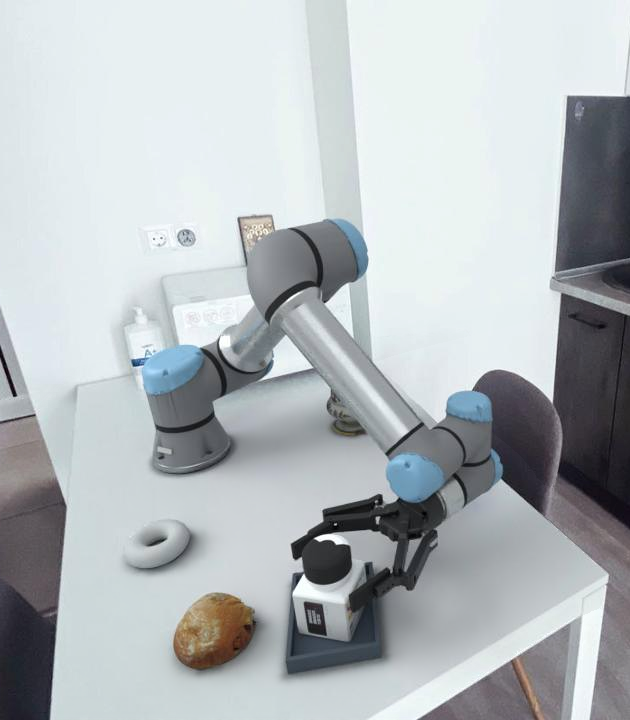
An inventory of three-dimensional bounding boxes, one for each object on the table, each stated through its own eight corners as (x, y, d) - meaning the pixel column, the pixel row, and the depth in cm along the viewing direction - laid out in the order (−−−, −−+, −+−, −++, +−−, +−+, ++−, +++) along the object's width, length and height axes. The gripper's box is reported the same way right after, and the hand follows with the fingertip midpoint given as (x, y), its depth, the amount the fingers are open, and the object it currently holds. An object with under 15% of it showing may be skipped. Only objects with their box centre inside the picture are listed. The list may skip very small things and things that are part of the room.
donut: (175, 573, 87) (201, 529, 96) (170, 557, 86) (197, 514, 95) (113, 573, 87) (145, 529, 97) (107, 557, 86) (140, 514, 95)
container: (350, 643, 75) (341, 572, 69) (297, 634, 76) (285, 563, 71) (368, 599, 82) (362, 531, 76) (320, 591, 83) (311, 523, 78)
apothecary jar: (338, 443, 122) (330, 370, 114) (322, 420, 131) (314, 351, 124) (388, 429, 127) (383, 359, 120) (369, 408, 137) (363, 341, 129)
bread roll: (210, 627, 82) (176, 594, 79) (269, 601, 81) (237, 566, 78) (187, 690, 73) (148, 655, 70) (252, 662, 72) (216, 625, 69)
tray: (294, 585, 85) (292, 573, 84) (373, 573, 87) (372, 561, 86) (287, 674, 71) (285, 661, 70) (381, 657, 73) (380, 644, 72)
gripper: (488, 559, 82) (381, 651, 68) (381, 489, 98) (275, 552, 84) (489, 519, 79) (377, 607, 65) (378, 454, 95) (268, 514, 81)
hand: (320, 576), depth 74 cm, fingers open, 13 cm apart
